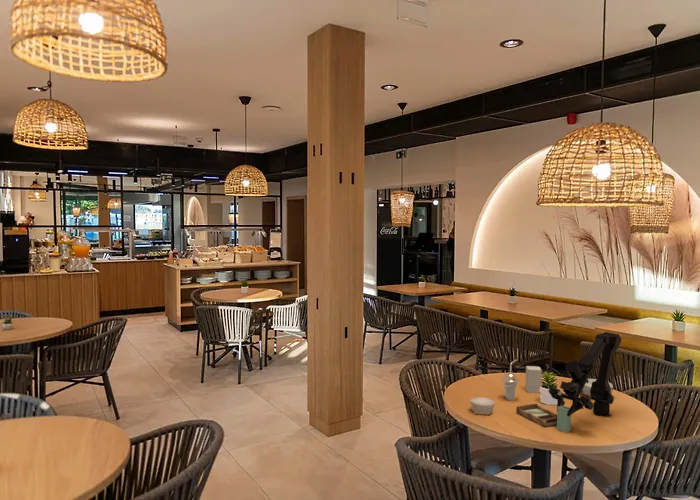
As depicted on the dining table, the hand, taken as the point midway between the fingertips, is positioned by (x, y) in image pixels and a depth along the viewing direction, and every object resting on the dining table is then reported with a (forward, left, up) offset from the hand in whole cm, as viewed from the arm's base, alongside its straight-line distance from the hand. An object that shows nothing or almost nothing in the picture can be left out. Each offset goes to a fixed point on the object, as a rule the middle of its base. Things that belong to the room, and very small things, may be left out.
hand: (562, 414), depth 228 cm
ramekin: (+35, -12, -8) cm, 38 cm away
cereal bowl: (-21, -55, -8) cm, 60 cm away
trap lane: (+8, -12, -7) cm, 16 cm away
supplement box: (+10, -53, -8) cm, 55 cm away
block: (-1, -1, -7) cm, 8 cm away
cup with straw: (+22, -35, -8) cm, 42 cm away
